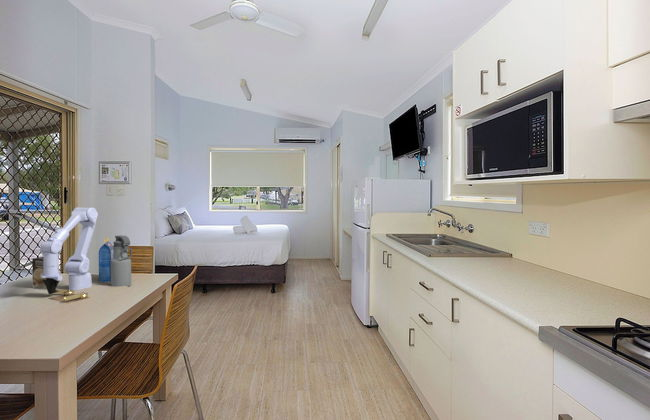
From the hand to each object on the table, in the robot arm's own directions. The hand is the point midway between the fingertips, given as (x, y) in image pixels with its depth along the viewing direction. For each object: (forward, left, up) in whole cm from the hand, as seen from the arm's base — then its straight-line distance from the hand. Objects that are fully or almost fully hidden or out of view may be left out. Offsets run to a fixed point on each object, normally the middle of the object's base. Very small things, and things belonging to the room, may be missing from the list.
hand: (51, 293), depth 168 cm
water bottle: (-30, +8, -3) cm, 31 cm away
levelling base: (-2, +10, -2) cm, 11 cm away
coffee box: (-10, -26, -3) cm, 28 cm away
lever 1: (-4, +2, -1) cm, 4 cm away
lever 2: (-2, +16, -1) cm, 16 cm away
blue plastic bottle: (-36, -14, -3) cm, 39 cm away
